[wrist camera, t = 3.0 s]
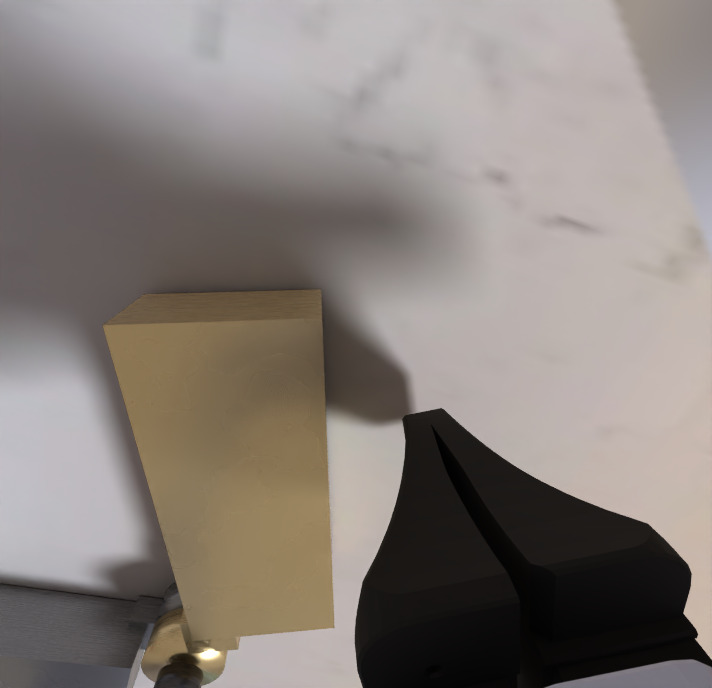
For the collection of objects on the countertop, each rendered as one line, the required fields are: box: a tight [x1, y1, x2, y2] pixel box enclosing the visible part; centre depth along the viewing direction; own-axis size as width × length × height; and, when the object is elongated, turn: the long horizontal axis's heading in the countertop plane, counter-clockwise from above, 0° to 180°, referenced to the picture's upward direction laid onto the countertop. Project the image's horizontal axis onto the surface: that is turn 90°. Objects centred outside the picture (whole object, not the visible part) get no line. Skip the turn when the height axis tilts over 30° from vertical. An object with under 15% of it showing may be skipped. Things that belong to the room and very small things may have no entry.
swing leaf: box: [103, 289, 334, 686], centre depth 13 cm, size 7×15×2 cm, turn 0°
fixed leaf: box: [0, 582, 203, 688], centre depth 15 cm, size 7×15×4 cm, turn 70°
